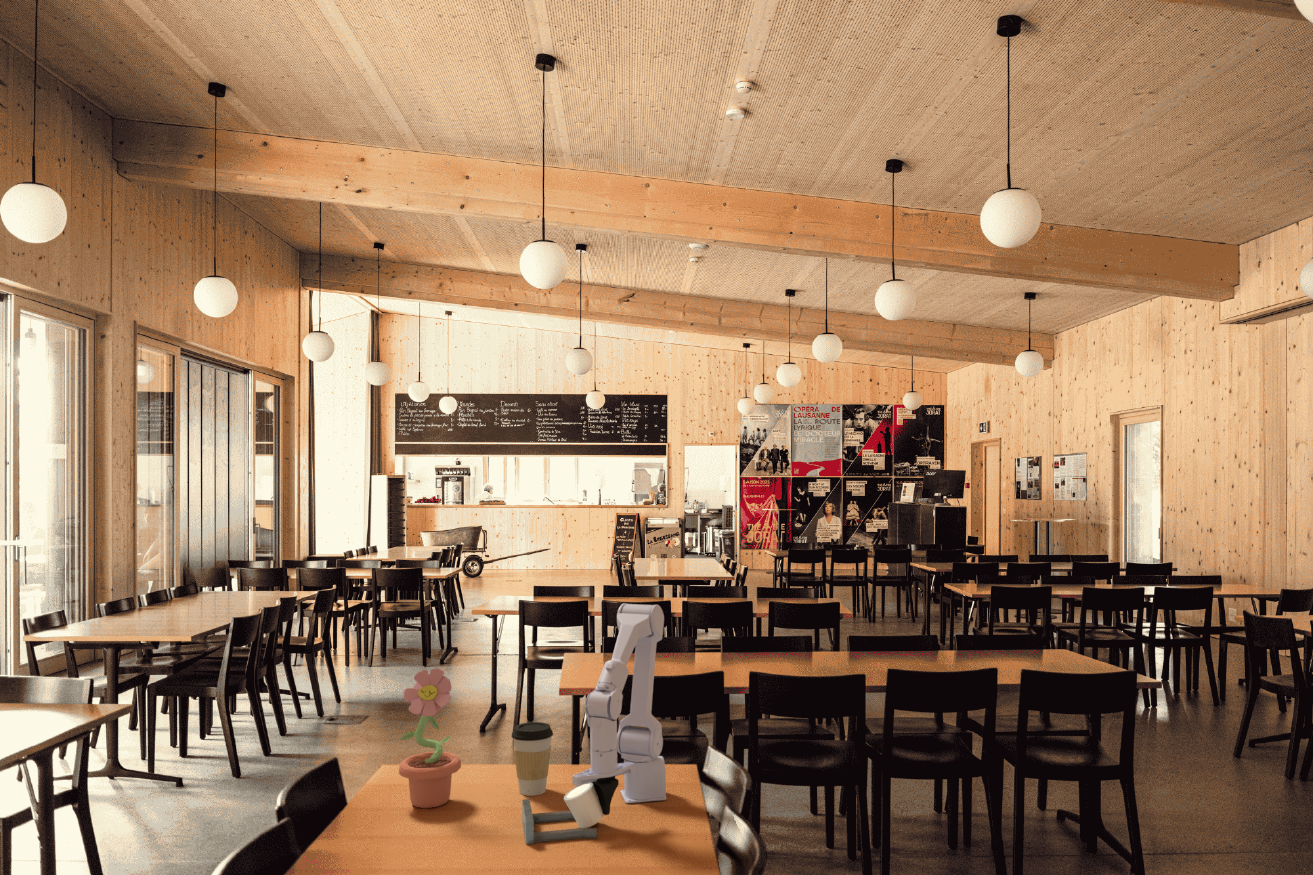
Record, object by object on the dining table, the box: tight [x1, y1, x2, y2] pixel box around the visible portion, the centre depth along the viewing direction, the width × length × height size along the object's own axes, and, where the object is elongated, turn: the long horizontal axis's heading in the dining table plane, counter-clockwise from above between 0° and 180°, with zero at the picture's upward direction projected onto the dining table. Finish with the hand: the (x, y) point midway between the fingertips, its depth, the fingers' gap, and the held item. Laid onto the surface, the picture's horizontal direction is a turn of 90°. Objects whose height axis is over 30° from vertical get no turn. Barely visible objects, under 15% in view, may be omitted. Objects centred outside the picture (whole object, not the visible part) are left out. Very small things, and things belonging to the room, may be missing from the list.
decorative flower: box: [398, 668, 462, 809], centre depth 203 cm, size 15×14×30 cm
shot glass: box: [563, 782, 605, 829], centre depth 187 cm, size 7×7×7 cm
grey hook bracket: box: [521, 798, 598, 845], centre depth 185 cm, size 15×14×4 cm
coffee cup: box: [511, 721, 554, 797], centre depth 209 cm, size 10×10×15 cm
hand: (604, 813), depth 187 cm, fingers closed, pressing on shot glass
